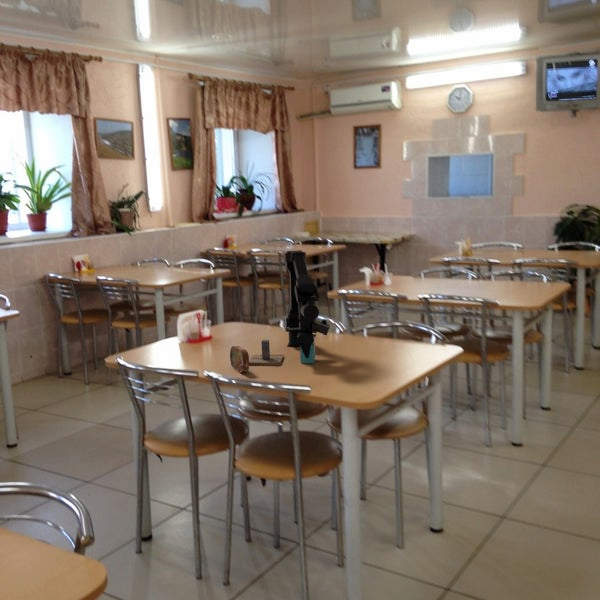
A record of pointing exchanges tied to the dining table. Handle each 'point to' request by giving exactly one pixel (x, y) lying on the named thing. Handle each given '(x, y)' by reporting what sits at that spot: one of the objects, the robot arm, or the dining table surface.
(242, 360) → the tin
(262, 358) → the post stand
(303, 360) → the teal rectangular block
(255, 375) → the dining table surface
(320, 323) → the robot arm
